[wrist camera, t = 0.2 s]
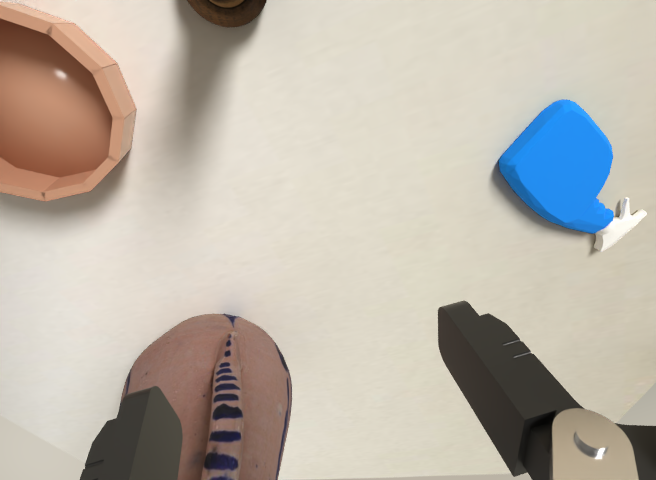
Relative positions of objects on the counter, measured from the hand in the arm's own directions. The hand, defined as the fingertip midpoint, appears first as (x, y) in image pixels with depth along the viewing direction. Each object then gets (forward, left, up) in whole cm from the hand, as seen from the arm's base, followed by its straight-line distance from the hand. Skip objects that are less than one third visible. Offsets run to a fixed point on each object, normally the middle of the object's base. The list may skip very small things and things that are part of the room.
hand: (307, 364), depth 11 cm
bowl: (-6, -17, -29) cm, 34 cm away
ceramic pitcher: (+23, -12, -29) cm, 39 cm away
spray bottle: (+15, +36, -30) cm, 49 cm away
